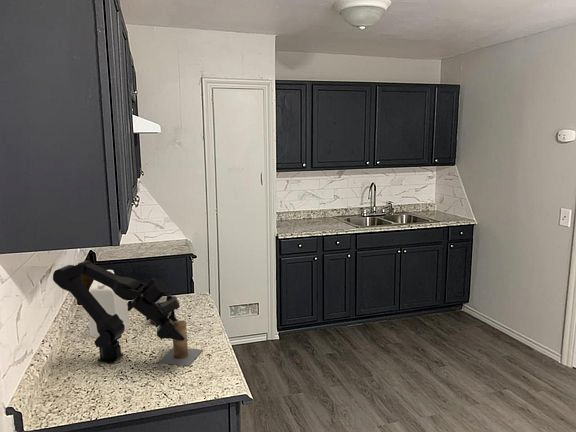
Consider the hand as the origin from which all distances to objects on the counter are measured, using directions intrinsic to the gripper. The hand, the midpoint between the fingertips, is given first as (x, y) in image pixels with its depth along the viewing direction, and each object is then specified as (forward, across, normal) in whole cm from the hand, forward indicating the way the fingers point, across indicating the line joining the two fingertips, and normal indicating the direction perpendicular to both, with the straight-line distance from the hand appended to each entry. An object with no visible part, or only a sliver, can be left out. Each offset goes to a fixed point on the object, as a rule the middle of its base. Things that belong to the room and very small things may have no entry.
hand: (183, 334), depth 162 cm
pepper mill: (+5, 0, +7) cm, 8 cm away
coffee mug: (0, +36, +12) cm, 38 cm away
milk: (-14, +33, +27) cm, 45 cm away
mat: (+5, 0, +7) cm, 9 cm away
